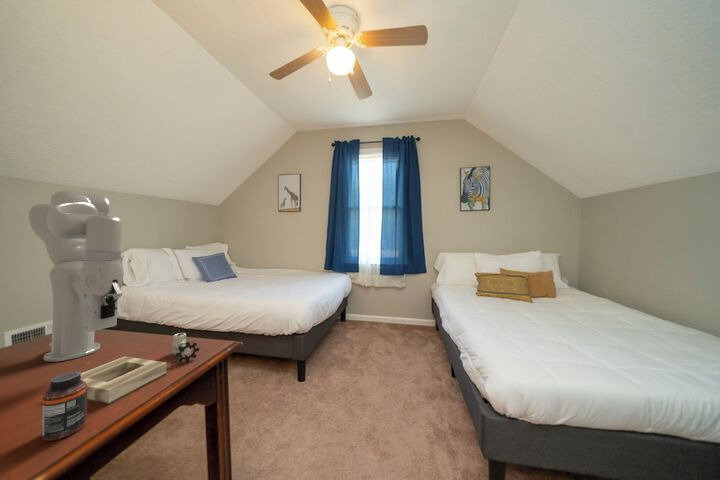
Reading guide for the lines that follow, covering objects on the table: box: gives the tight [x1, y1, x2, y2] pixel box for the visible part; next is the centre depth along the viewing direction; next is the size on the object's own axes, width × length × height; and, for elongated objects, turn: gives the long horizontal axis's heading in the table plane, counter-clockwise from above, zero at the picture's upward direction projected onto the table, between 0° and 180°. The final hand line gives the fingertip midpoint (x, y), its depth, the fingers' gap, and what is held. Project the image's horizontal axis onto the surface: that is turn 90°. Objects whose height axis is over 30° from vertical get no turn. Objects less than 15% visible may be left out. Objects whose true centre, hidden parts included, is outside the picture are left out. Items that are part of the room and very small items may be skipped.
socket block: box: [80, 356, 168, 406], centre depth 67 cm, size 16×14×4 cm
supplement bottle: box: [40, 371, 88, 442], centre depth 50 cm, size 6×6×11 cm
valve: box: [171, 332, 200, 364], centre depth 83 cm, size 7×7×12 cm
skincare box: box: [83, 291, 119, 332], centre depth 74 cm, size 6×4×12 cm
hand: (100, 316), depth 74 cm, fingers closed on skincare box, 4 cm apart
